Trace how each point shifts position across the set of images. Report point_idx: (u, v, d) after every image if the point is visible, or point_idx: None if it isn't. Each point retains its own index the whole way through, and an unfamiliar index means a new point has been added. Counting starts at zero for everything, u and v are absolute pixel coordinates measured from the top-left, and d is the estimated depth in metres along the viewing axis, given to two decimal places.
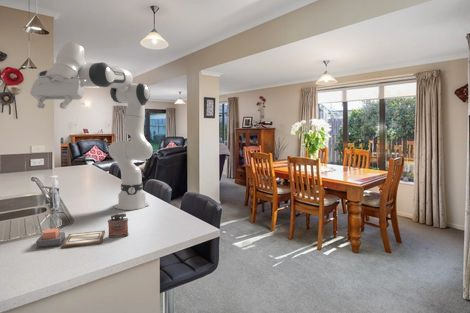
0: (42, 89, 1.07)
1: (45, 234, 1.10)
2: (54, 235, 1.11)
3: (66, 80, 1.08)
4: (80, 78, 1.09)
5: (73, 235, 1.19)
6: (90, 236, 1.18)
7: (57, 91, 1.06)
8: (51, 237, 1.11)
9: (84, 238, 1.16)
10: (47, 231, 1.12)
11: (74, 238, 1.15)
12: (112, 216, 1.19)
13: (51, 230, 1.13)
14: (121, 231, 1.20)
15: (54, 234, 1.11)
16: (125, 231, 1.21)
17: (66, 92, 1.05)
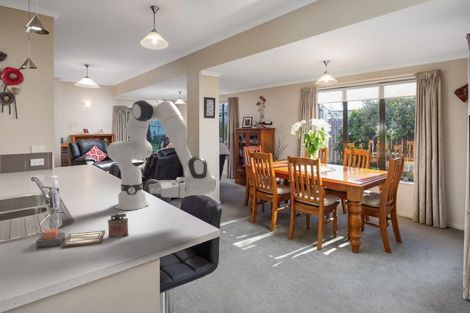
0: None
1: (45, 234, 1.10)
2: (54, 235, 1.11)
3: None
4: None
5: (73, 235, 1.19)
6: (90, 236, 1.18)
7: None
8: (51, 237, 1.11)
9: (84, 238, 1.16)
10: (47, 231, 1.12)
11: (74, 238, 1.15)
12: (112, 216, 1.19)
13: (51, 230, 1.13)
14: (121, 231, 1.20)
15: (54, 234, 1.11)
16: (125, 231, 1.21)
17: None
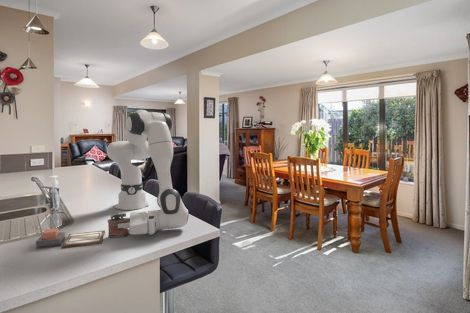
0: None
1: (45, 234, 1.10)
2: (54, 235, 1.11)
3: None
4: None
5: (73, 235, 1.19)
6: (90, 236, 1.18)
7: None
8: (51, 237, 1.11)
9: (84, 238, 1.16)
10: (47, 231, 1.12)
11: (74, 238, 1.15)
12: (112, 216, 1.19)
13: (51, 230, 1.13)
14: (121, 231, 1.20)
15: (54, 234, 1.11)
16: (125, 231, 1.21)
17: None
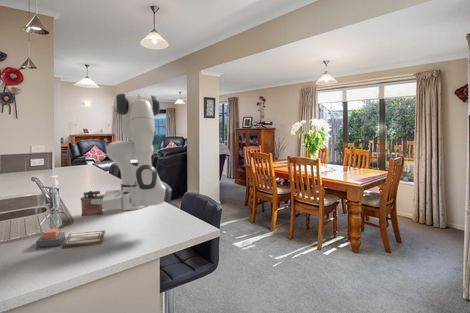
0: None
1: (45, 234, 1.10)
2: (54, 235, 1.11)
3: None
4: None
5: (73, 235, 1.19)
6: (90, 236, 1.18)
7: None
8: (51, 237, 1.11)
9: (84, 238, 1.16)
10: (47, 231, 1.12)
11: (74, 238, 1.15)
12: (85, 193, 1.15)
13: (51, 230, 1.13)
14: (95, 209, 1.16)
15: (54, 234, 1.11)
16: (99, 209, 1.17)
17: None
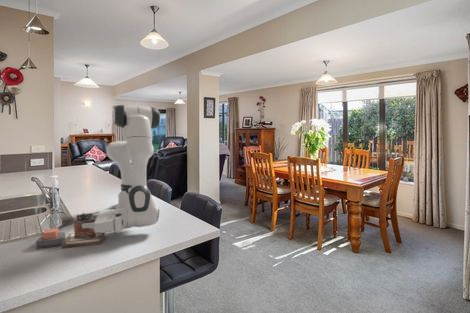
0: None
1: (45, 234, 1.10)
2: (54, 235, 1.11)
3: None
4: None
5: (73, 235, 1.19)
6: None
7: None
8: (51, 237, 1.11)
9: (84, 238, 1.16)
10: (47, 231, 1.12)
11: None
12: (78, 216, 1.15)
13: (51, 230, 1.13)
14: (88, 232, 1.16)
15: (54, 234, 1.11)
16: (92, 231, 1.17)
17: None
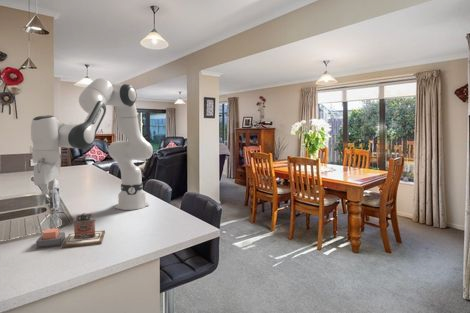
0: None
1: (45, 234, 1.10)
2: (54, 235, 1.11)
3: None
4: None
5: (73, 235, 1.19)
6: None
7: None
8: (51, 237, 1.11)
9: None
10: (47, 231, 1.12)
11: None
12: (78, 216, 1.15)
13: (51, 230, 1.13)
14: (88, 232, 1.16)
15: (54, 234, 1.11)
16: (92, 232, 1.17)
17: None
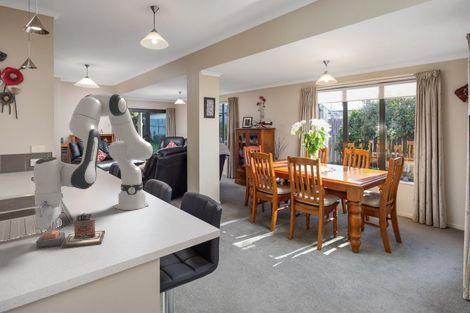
0: None
1: (45, 236, 1.10)
2: (54, 237, 1.11)
3: None
4: None
5: (73, 235, 1.19)
6: None
7: None
8: None
9: None
10: None
11: None
12: (78, 216, 1.15)
13: None
14: (88, 232, 1.16)
15: (54, 236, 1.11)
16: (92, 232, 1.17)
17: None
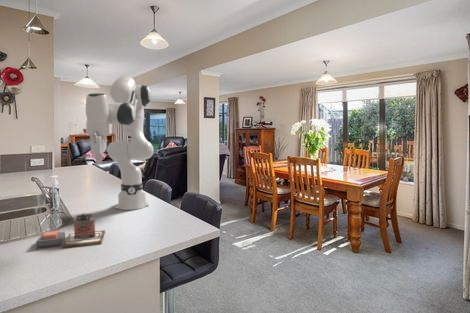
0: None
1: (45, 237, 1.10)
2: None
3: None
4: (94, 133, 1.12)
5: (73, 235, 1.19)
6: None
7: None
8: None
9: None
10: (47, 234, 1.12)
11: None
12: (78, 216, 1.15)
13: (51, 233, 1.13)
14: (88, 232, 1.16)
15: (54, 237, 1.11)
16: (92, 232, 1.17)
17: None
